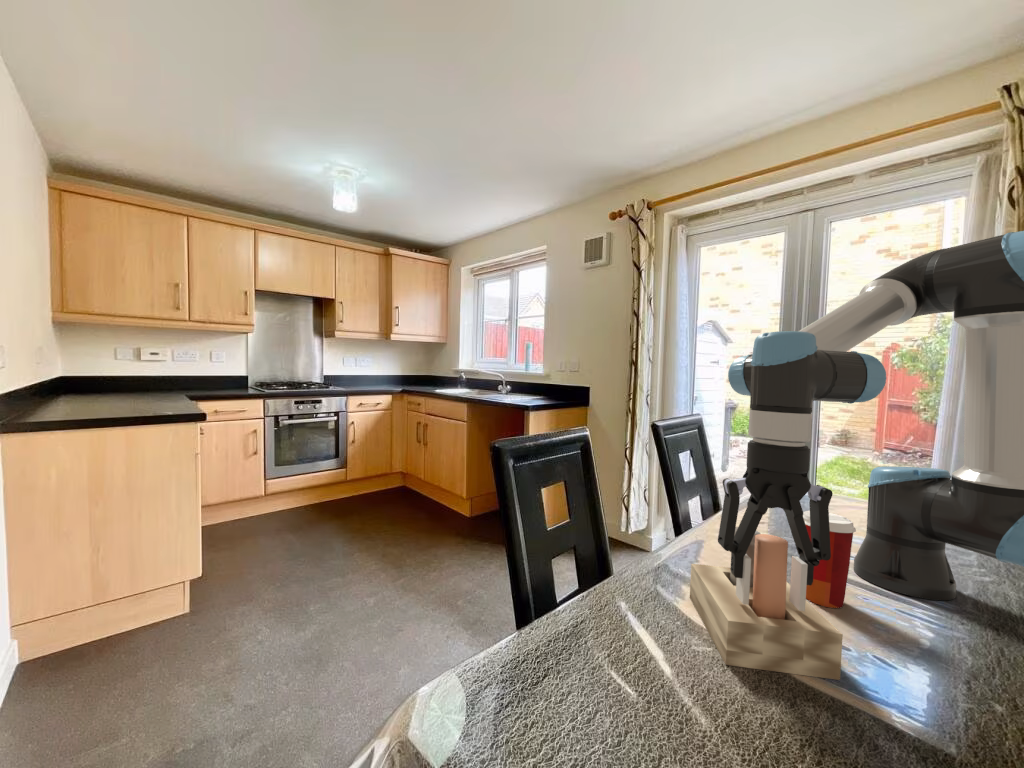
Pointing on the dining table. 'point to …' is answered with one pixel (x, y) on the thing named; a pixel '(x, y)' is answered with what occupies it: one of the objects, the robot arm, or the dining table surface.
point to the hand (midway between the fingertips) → (769, 602)
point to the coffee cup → (832, 564)
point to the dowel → (770, 576)
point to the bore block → (763, 627)
